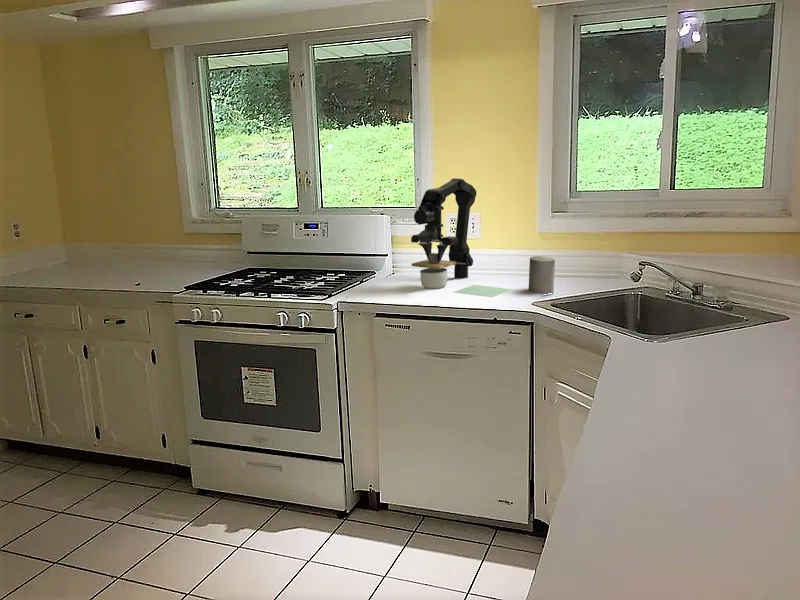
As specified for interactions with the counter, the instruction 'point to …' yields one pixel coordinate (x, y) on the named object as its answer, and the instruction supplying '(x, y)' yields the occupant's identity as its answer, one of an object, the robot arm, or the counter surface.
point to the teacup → (433, 278)
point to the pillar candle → (541, 274)
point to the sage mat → (483, 290)
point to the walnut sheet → (436, 266)
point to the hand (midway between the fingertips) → (434, 261)
